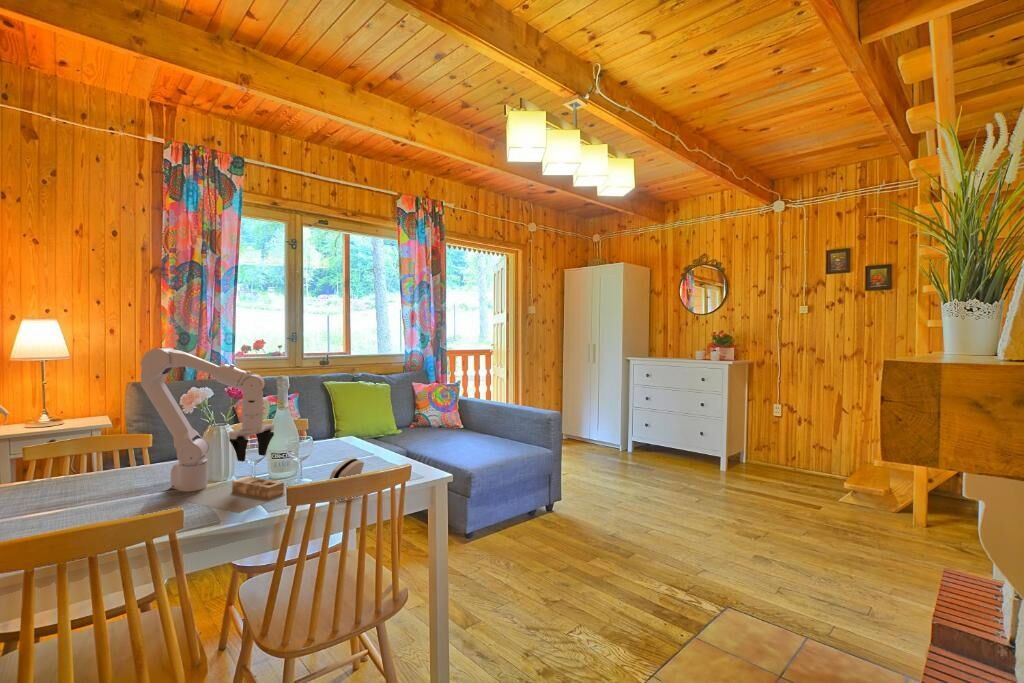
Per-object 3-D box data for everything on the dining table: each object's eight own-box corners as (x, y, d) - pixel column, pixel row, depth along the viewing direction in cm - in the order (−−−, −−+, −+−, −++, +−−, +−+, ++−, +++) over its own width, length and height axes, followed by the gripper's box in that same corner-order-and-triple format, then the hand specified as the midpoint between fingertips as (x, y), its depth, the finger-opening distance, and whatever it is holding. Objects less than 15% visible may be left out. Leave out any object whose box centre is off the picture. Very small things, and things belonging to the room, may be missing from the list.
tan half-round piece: (344, 478, 165) (355, 451, 164) (357, 484, 164) (367, 456, 164) (318, 495, 148) (329, 464, 148) (332, 501, 148) (343, 471, 147)
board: (179, 505, 137) (180, 491, 137) (247, 483, 157) (247, 470, 157) (239, 518, 129) (239, 503, 129) (302, 493, 150) (302, 480, 150)
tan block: (232, 491, 145) (232, 481, 145) (247, 486, 150) (248, 476, 150) (268, 498, 140) (268, 487, 140) (283, 492, 145) (283, 482, 145)
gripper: (242, 418, 144) (241, 465, 144) (281, 411, 158) (280, 454, 158) (224, 416, 146) (223, 462, 147) (264, 409, 160) (263, 451, 160)
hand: (251, 458), depth 153 cm, fingers open, 7 cm apart
